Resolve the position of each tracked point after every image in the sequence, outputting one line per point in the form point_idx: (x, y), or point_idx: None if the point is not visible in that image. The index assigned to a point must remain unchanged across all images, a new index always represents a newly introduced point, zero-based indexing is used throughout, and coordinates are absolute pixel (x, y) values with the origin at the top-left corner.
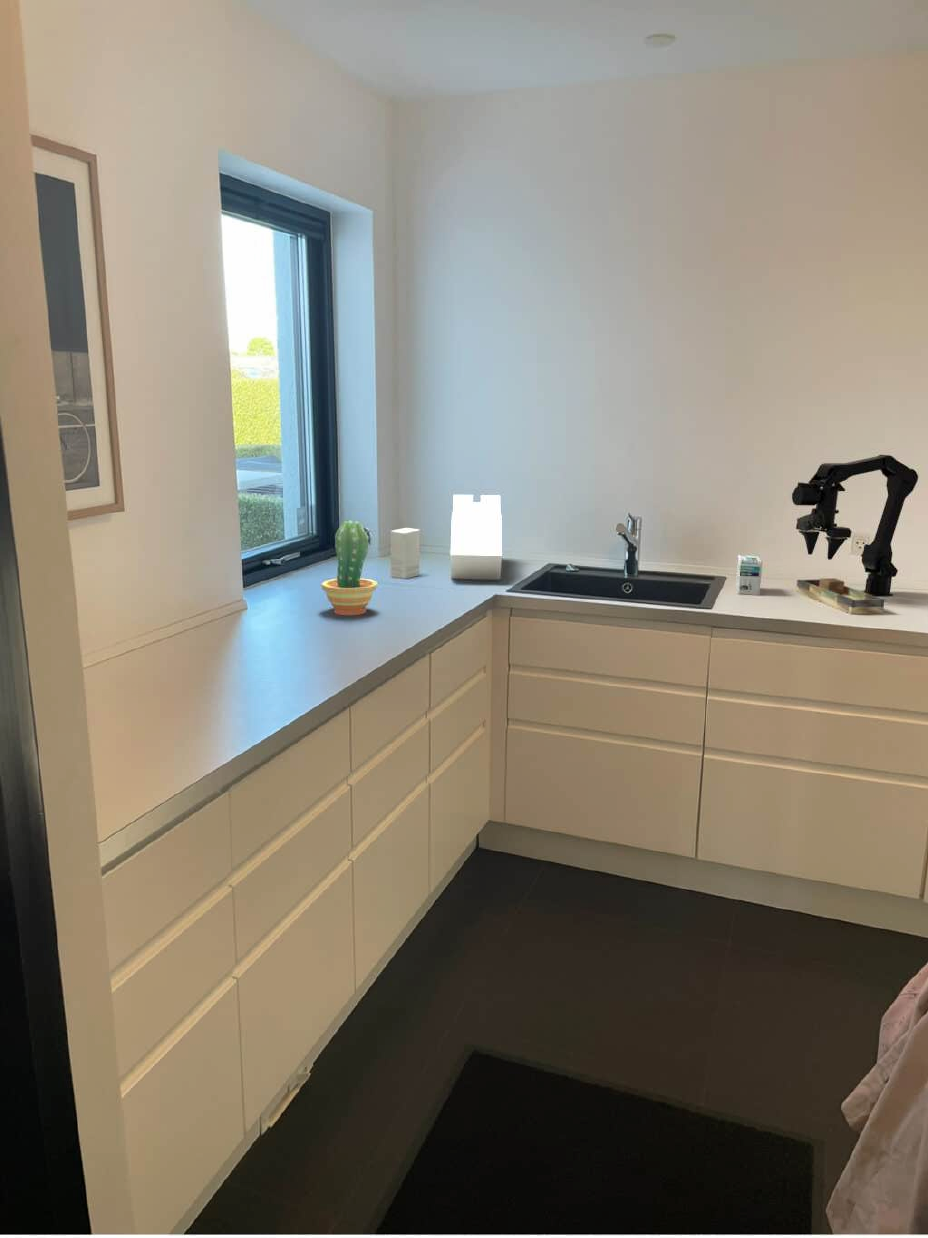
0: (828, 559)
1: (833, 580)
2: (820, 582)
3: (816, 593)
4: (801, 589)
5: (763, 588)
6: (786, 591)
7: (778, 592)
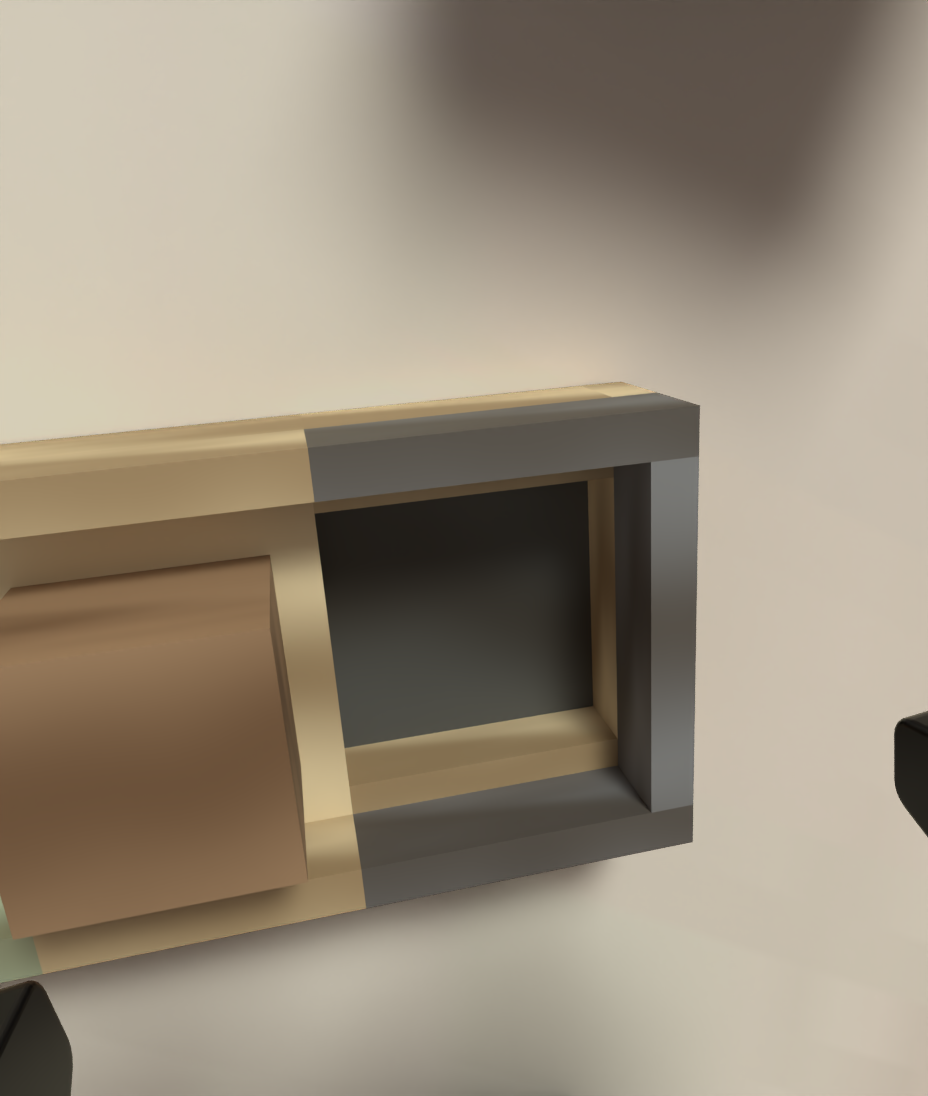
0: (5, 990)
1: (106, 800)
2: (239, 607)
3: (87, 451)
4: (515, 402)
5: (912, 21)
6: (694, 277)
7: (646, 119)
